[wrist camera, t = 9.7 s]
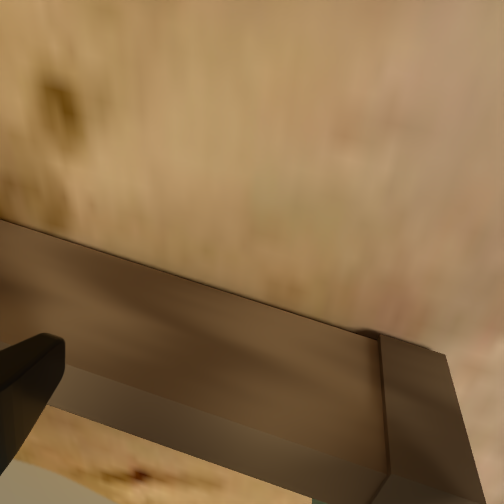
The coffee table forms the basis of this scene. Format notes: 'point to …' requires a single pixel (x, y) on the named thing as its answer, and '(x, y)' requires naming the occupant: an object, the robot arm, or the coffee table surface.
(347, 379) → the gate
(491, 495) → the coffee table surface
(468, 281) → the coffee table surface
